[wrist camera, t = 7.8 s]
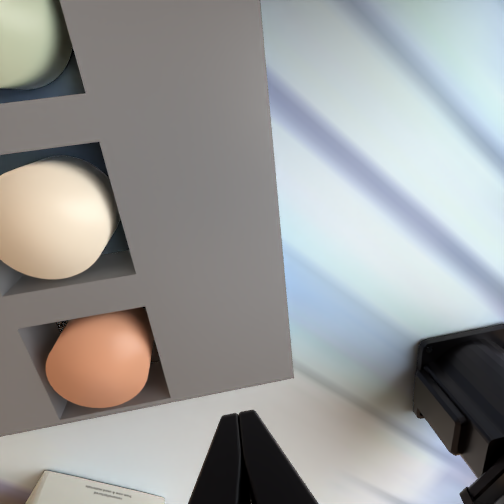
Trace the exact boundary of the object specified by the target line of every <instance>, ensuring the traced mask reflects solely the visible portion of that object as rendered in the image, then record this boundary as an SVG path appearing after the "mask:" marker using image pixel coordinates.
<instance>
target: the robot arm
mask: <svg viewBox="0 0 504 504" xmlns="http://www.w3.org/2000/svg"><path fill="white" fill-rule="evenodd" d="M413 402H414V406H413V412H414V413H415V415H416V416H417V417H418V418H420V419H421V418H425V419H426V420H427V422H428V423H429V424H430V426H431V427H432V429H433V430H434V431H435V433H436V434H437V435H438V437H439V438H440V440H441V441H442V442H443V444H444V445H445V446H446V448H447V449H448V451H449V452H450V453H452V454H453V455H455V456H456V455H461V457H462V458H463V459H464V461H465V462H466V463H467V465H468V466H469V467H470V469H471V470H472V472H473V473H474V474H475V476H476V477H477V478H478V479H477V480H476V481H475V482H474V483H473V484H472V485H471V486H470V487H466V488H465V489H464V490H463V491H462V492H461V493H460V496H461V499H462V501H463V503H464V504H504V324H502V325H497V326H492V327H487V328H481V329H476V330H471V331H466V332H461V333H456V334H451V335H446V336H441V337H436V338H431V339H426V340H424V341H422V342H421V343H420V345H419V351H418V362H417V372H416V375H415V385H414V396H413ZM251 503H252V504H318V502H317V501H316V499H315V498H314V496H313V495H312V493H311V492H310V490H309V489H308V488H307V486H306V485H305V483H304V482H303V480H302V479H301V477H300V476H299V474H298V473H297V471H296V470H295V468H294V467H293V465H292V464H291V463H290V461H289V460H288V458H287V457H286V455H285V454H284V452H283V451H282V449H281V448H280V446H279V445H278V443H277V442H276V441H275V439H274V438H273V436H272V435H271V433H270V432H269V430H268V429H267V427H266V426H265V424H264V423H263V421H262V420H261V418H260V417H259V416H258V414H257V413H256V411H254V410H249V411H244V412H240V413H239V416H238V414H237V413H233V414H228V415H224V416H222V417H221V419H220V422H219V424H218V427H217V429H216V432H215V435H214V437H213V440H212V442H211V445H210V448H209V450H208V453H207V455H206V458H205V461H204V463H203V466H202V468H201V471H200V474H199V476H198V479H197V482H196V484H195V487H194V489H193V492H192V495H191V497H190V500H189V502H188V504H251Z"/></svg>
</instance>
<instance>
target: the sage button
mask: <svg viewBox="0 0 504 504" xmlns="http://www.w3.org/2000/svg"><path fill="white" fill-rule="evenodd" d="M71 51H72V43H71V39H70V36H69V32H68V28H67V25H66V21H65V18H64V14H63V11H62V7H61V3H60V0H0V88H4V89H19V90H28V89H35V88H40V87H42V86H45V85H47V84H49V83H51V82H52V81H53V80H55V79H56V78H57V77H58V76H59V75H60V74H61V73H62V72H63V70H64V69H65V67H66V65H67V63H68V61H69V59H70V55H71Z"/></svg>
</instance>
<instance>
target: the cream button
mask: <svg viewBox="0 0 504 504" xmlns="http://www.w3.org/2000/svg"><path fill="white" fill-rule="evenodd" d="M119 221H120V214H119V211H118V207H117V204H116V200H115V196H114V193H113V189H112V186H111V182H110V179H109V178H108V177H107V176H106V175H105V174H104V173H103V172H102V171H101V170H100V169H98V168H97V167H96V166H94V165H93V164H91V163H89V162H87V161H85V160H82V159H79V158H76V157H71V156H61V155H60V156H51V157H46V158H43V159H40V160H38V161H35V162H32V163H30V164H27V165H25V166H22V167H19V168H17V169H14V170H11V171H9V172H6V173H4V174H2V175H0V260H2V261H3V262H4V263H5V264H7V265H8V266H10V267H11V268H13V269H15V270H17V271H19V272H21V273H23V274H26V275H29V276H32V277H36V278H41V279H63V278H68V277H72V276H74V275H77V274H79V273H81V272H83V271H85V270H86V269H88V268H89V267H90V266H91V265H92V264H94V263H95V261H96V260H97V259H98V258H99V256H100V254H101V253H102V251H103V250H104V248H105V246H106V245H107V243H108V241H109V240H110V238H111V237H112V235H113V233H114V232H115V230H116V228H117V226H118V224H119Z"/></svg>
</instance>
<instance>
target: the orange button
mask: <svg viewBox="0 0 504 504" xmlns="http://www.w3.org/2000/svg"><path fill="white" fill-rule="evenodd" d="M153 344H154V336H153V332H152V329H151V325H150V322H149V318H148V314H147V311H146V310H145V309H144V308H143V307H139V308H133V309H128V310H122V311H116V312H111V313H105V314H99V315H94V316H88V317H82V318H77V319H71V320H69V321H68V322H67V324H66V326H65V327H64V329H63V331H62V333H61V334H60V336H59V338H58V340H57V341H56V343H55V345H54V347H53V348H52V350H51V352H50V353H49V355H48V358H47V361H46V375H47V378H48V381H49V383H50V385H51V386H52V387H53V389H54V390H55V391H56V392H57V393H58V394H59V395H60V396H62V397H63V398H65V399H66V400H68V401H70V402H72V403H74V404H77V405H80V406H85V407H91V408H107V407H113V406H117V405H120V404H123V403H125V402H127V401H129V400H130V399H132V398H134V397H135V396H136V395H137V394H138V393H139V392H140V391H141V390H142V388H143V387H144V385H145V383H146V381H147V378H148V373H149V367H150V362H151V356H152V350H153Z"/></svg>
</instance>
